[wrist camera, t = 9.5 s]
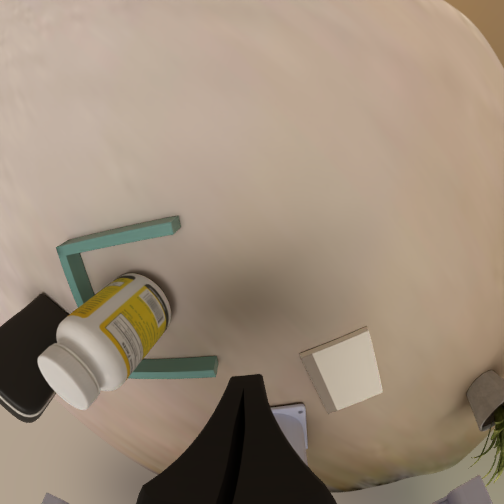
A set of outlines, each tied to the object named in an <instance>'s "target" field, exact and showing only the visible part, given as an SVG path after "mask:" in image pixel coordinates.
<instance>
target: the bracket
mask: <svg viewBox="0 0 504 504" xmlns="http://www.w3.org/2000/svg"><path fill="white" fill-rule="evenodd" d="M180 227H181V225H180V221H179V216H174V217H169V218H164V219H159V220H154V221H149V222H145V223H140V224H135V225H131V226H126V227H121V228H117V229H113V230H108V231H104V232H100V233H95V234H91V235H87V236H83V237H79V238H75V239H71V240H68V241H66V242H64V243H63V244H61V245H59V246H57V247H56V249H57V252H58V255H59V258H60V261H61V264H62V267H63V270H64V273H65V276H66V278H67V281H68V284H69V286H70V289H71V291H72V294H73V296H74V299H75V301H76V304H77V306H78V308H79V307H80V306H81V305H83V304H84V303H85V302H86V301H88V300H89V299H90V298H92V297H93V296H94V293H93V290H92V287H91V285H90V282H89V279H88V276H87V274H86V271H85V268H84V265H83V262H82V259H81V256H80V253H81V252H85V251H90V250H95V249H100V248H105V247H110V246H115V245H120V244H125V243H130V242H135V241H140V240H146V239H151V238H156V237H162V236H167V235H173V234H175V233H176V231H177V230H178V229H179V228H180ZM217 368H218V360H217V357H216V356H209V357H194V358H175V359H143V360H142V361H141V362H140V363H139V365H138V366H137V367H136V368H135V370H134V371H133V372H132V373H131V375H130V376H129V377H128V378H133V379H183V378H207V377H216V374H217Z"/></svg>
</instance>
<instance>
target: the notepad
mask: <svg viewBox="0 0 504 504" xmlns="http://www.w3.org/2000/svg"><path fill="white" fill-rule="evenodd" d="M300 358H301V360H302V362H303V364H304V366H305V368H306V370H307V372H308V374H309V376H310V378H311V380H312V383H313V385H314V387H315V389H316V391H317V393H318V395H319V397H320V399H321V401H322V403H323V405H324V407H325V409H326V411H327V413H328V414H330V413H332V412H335V411H337V410H340V409H343V408H345V407H348V406H351V405H353V404H356V403H358V402H361V401H363V400H366V399H368V398H371V397H373V396H375V395H378V394H380V393H382V392H383V390H382V385H381V380H380V376H379V371H378V367H377V362H376V358H375V354H374V350H373V345H372V341H371V337H370V334H369V330H368V328H367V327H364V328H362V329H359V330H357V331H355V332H353V333H350V334H348V335H345V336H343V337H341V338H338V339H336V340H333V341H331V342H328V343H326V344H323V345H321V346H318V347H316V348H313V349H310V350H308V351H305V352H302V353H300Z"/></svg>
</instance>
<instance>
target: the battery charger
mask: <svg viewBox="0 0 504 504" xmlns="http://www.w3.org/2000/svg"><path fill="white" fill-rule="evenodd" d="M67 316H68V314H66V313H65V312H64V311H63V310H62V309H60V308H59V307H58V306H57V305H56V304H55V303H53V302H52V301H51V300H50V299H49V298H47V297H46V296H45V295H44V294H40V295H39V296H38V297H37V298H35V299H34V300H33V301H32V302H31V303H30V304H28V305H27V306H26V307H25V308H24V309H22V310H21V311H20V312H18V313H17V314H16V315H14V316H13V317H12V318H11V319H9V320H8V321H7V322H6V323H4V324H3V325H2V326H1V327H0V404H1V405H2V406H3V407H4V408H5V409H6V410H8V411H9V412H10V413H11V414H12V415H13V416H15V417H16V418H17V419H19V420H21V421H23V422H26V423H28V422H29V423H31V422H34V421H36V420H37V419H38V418H39V417H40V416H41V414H42V413H43V412H44V410H45V409H46V407H47V406H48V404H49V403H50V401H51V400H52V399H53V397H54V395H55V394H56V392H55V391H54V390H53V389H52V387H51V386H50V385H49V384H48V382H47V381H46V380H45V378H44V376H43V375H42V373H41V371H40V369H39V366H38V357H39V356H40V355H41V354H42V353H43V352H44V351H45V350H46V349H47V348H48V347H49V346H51V345H52V344H54V343H57V339H56V333H57V328H58V326H59V324H60V323H61V322H62V321H63V320H64V319H65V318H66V317H67Z"/></svg>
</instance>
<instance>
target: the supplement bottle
mask: <svg viewBox="0 0 504 504" xmlns="http://www.w3.org/2000/svg"><path fill="white" fill-rule="evenodd" d="M170 319H171V310H170V305H169V302H168V300H167V298H166V296H165V294H164V293H163V291H162V290H161V289H160V288H159V287H158V286H157V285H156V284H155V283H154V282H153V281H151V280H150V279H148V278H147V277H145V276H142V275H139V274H135V273H129V274H124V275H122V276H120V277H119V278H117V279H116V280H114V281H113V282H112V283H110V284H109V285H108V286H106V287H105V288H104V289H102V290H101V291H100V292H98V293H97V294H96V295H94V296H93V297H92V298H90V299H89V300H88V301H86V302H85V303H84V304H83V305H81V306H80V307H79V308H77V309H76V310H75V311H73V312H72V313H71V314H70V315H68V316H67V317H66V318H65V319H64V320H63V321H62V322H61V323H60V324H59V326H58V328H57V333H56V339H57V343H54V344H52V345H51V346H49V347H48V348H47V349H46V350H45V351H44V352H43V353H42V354H41V355H40V356H39V357H38V366H39V369H40V371H41V373H42V375H43V376H44V378H45V380H46V381H47V382H48V384H49V385H50V386H51V387H52V389H53V390H54V391H55V392H56V393H57V394H58V395H59V396H60V397H61V398H62V399H63V400H65V401H66V402H67V403H69V404H70V405H72V406H73V407H75V408H77V409H80V410H86V409H88V408H89V406H90V405H91V404H92V403H93V402H94V401H95V400H96V399H97V397H98V395H99V394H100V390H102V391H113V390H116V389H118V388H119V387H121V386H122V384H123V383H124V382H125V381H126V380H127V379H128V377H129V376H130V375H131V373H132V372H133V371H134V370H135V368H136V367H137V366H138V365H139V363H140V362H141V361H142V360H143V358H144V357H145V356H146V355H147V353H148V352H149V351H150V349H151V348H152V347H153V346H154V344H155V343H156V342H157V341H158V339H159V338H160V337H161V336H162V334H163V333H164V332H165V330H166V329H167V327H168V325H169V323H170Z"/></svg>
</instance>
